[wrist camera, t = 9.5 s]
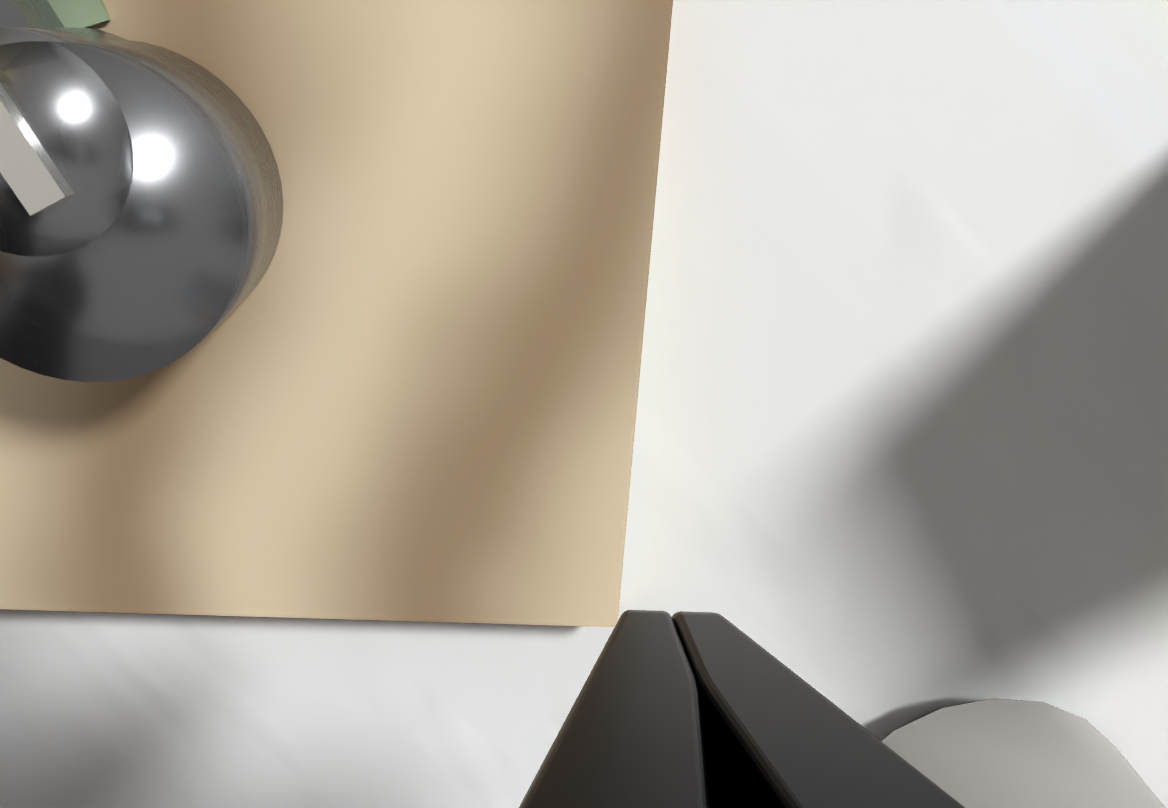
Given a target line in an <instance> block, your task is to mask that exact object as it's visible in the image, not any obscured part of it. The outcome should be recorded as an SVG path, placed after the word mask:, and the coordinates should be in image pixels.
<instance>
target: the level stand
mask: <svg viewBox="0 0 1168 808" xmlns="http://www.w3.org/2000/svg"><path fill="white" fill-rule="evenodd" d="M47 1H48V2H49V4H50V5H51V7H52V8H53V10H54V12H55V13H56V15H57V16H58V18H59V20H60V21H61V23H62V24H63V26H64V27H65V28H91V29H98V30H101V31H105V32H109V33H112V34H114V35H117V36H119V37H122V38H124V39H126V40H132V41H139V42H145V43H149V44H152V45H156V46H160V47H164V48H166V49H168V50H171V51H173V52H176V53H178V54H181V55H183V56H185V57H187V58H189V59H190V60H192V61H194V62H196V63H198V64H199V65H201V66H203V67H204V68H206V69H207V70H208V71H210V72H211V73H212V74H214V75H215V76H217V77H218V78H219V79H220V80H222V81H223V82H224V83H225V84H226V85H227V86H228V87H229V88H230V89H231V90H232V91H233V92H235V93H236V95H237V96H238V97H239V98H240V99H241V100H242V102H243V103H244V104H245V105H246V106H247V107H248V109H249V110H250V111H251V113H252V114H253V116H254V117H255V119H256V120H257V122H258V123H259V125H260V126H261V128H262V130H263V132H264V134H265V136H266V138H267V140H268V142H269V144H270V146H271V149H272V151H273V154H274V157H275V160H276V162H277V166H278V170H279V174H280V179H281V183H282V193H283V222H282V228H281V234H280V239H279V243H278V246H277V249H276V252H275V255H274V257H273V259H272V262H271V264H270V266H269V268H268V270H267V272H266V273H265V275H264V276H263V278H262V279H261V281H260V282H259V284H258V285H257V287H256V288H255V289H254V290H253V291H252V292H251V293H250V294H249V295H248V296H247V297H246V299H245V300H244V301H242V302H241V303H240V304H239V305H238V306H237V307H236V308H235V309H234V310H233V311H232V312H231V313H230V314H229V315H228V316H227V317H226V318H225V319H224V320H223V321H222V322H221V323H220V324H219V325H217V326H216V327H215V328H214V329H213V330H212V331H211V332H210V333H209V334H208V335H207V336H206V337H205V338H204V339H203V340H202V341H201V342H200V343H199V344H197V345H196V346H195V347H194V348H192V349H191V350H190V351H189V352H187V353H186V354H185V355H184V356H182V357H180V358H179V359H177V360H175V361H174V362H172V363H170V364H169V365H167V366H165V367H162V368H160V369H158V370H155V371H153V372H151V373H148V374H145V375H141V376H137V377H134V378H130V379H125V380H117V381H110V382H79V381H70V380H62V379H58V378H53V377H49V376H44V375H41V374H38V373H35V372H32V371H29V370H26V369H23V368H20V367H18V366H16V365H14V364H12V363H10V362H8V361H6V360H3V359H1V358H0V609H11V610H46V611H80V612H114V613H149V614H183V615H217V616H252V617H286V618H320V619H354V620H389V621H423V622H457V623H492V624H526V625H560V626H595V627H615V626H616V624H617V622H618V612H619V600H620V589H621V578H622V567H623V555H624V544H625V533H626V522H627V510H628V499H629V488H630V477H631V466H632V454H633V443H634V432H635V421H636V409H637V398H638V387H639V376H640V364H641V353H642V342H643V331H644V320H645V308H646V297H647V286H648V275H649V263H650V252H651V241H652V230H653V218H654V207H655V196H656V185H657V174H658V162H659V151H660V140H661V129H662V117H663V106H664V95H665V84H666V72H667V61H668V50H669V39H670V28H671V16H672V5H673V0H47Z"/></svg>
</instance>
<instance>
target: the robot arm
mask: <svg viewBox="0 0 1168 808" xmlns="http://www.w3.org/2000/svg"><path fill="white" fill-rule="evenodd" d="M519 808H965V807H964V806H963V805H961V804H960V803H959V802H958V801H956V800H955V799H954V798H952V797H951V796H950V795H949V794H947V793H946V792H945V791H944V790H942V789H941V788H940V787H939V786H937V785H936V784H935V783H933V782H932V781H931V780H930V779H928V778H927V777H926V776H925V775H923V774H922V773H921V772H919V771H918V770H917V769H916V768H914V767H913V766H912V765H911V764H909V763H908V762H907V761H906V760H904V759H903V758H902V757H900V756H899V755H898V754H897V753H895V752H894V751H893V750H892V749H890V748H889V747H888V746H887V745H885V744H884V743H883V742H881V741H880V740H879V739H878V738H876V737H875V736H874V735H873V734H871V733H870V732H869V731H867V730H866V729H865V728H864V727H862V726H861V725H860V724H859V723H857V722H856V721H855V720H854V719H852V718H851V717H850V716H848V715H847V714H846V713H845V712H843V711H842V710H841V709H840V708H838V707H837V706H836V705H834V704H833V703H832V702H831V701H829V700H828V699H827V698H826V697H824V696H823V695H822V694H821V693H819V692H818V691H817V690H815V689H814V688H813V687H812V686H810V685H809V684H808V683H807V682H805V681H804V680H803V679H802V678H800V677H799V676H798V675H796V674H795V673H794V672H793V671H791V670H790V669H789V668H788V667H786V666H785V665H784V664H782V663H781V662H780V661H779V660H777V659H776V658H775V657H774V656H772V655H771V654H770V653H769V652H767V651H766V650H765V649H763V648H762V647H761V646H760V645H758V644H757V643H756V642H755V641H753V640H752V639H751V638H749V637H748V636H747V635H746V634H744V633H743V632H742V631H741V630H739V629H738V628H737V627H736V626H734V625H733V624H732V623H730V622H729V621H728V620H727V619H725V618H724V617H723V616H721V615H720V614H717V613H711V612H677V613H675V614H674V615H673V616H672V617H671V616H670V614H669V613H667V612H665V611H646V610H627V611H625V612H624V613H623V614H622V615H621V617H620V618H619V620H618V622H617V624H616V626H615V628H614V630H613V632H612V634H611V635H610V637H609V639H608V641H607V643H606V645H605V647H604V649H603V650H602V652H601V654H600V656H599V658H598V660H597V662H596V664H595V665H594V667H593V669H592V671H591V673H590V675H589V677H588V679H587V681H586V682H585V684H584V686H583V688H582V690H581V692H580V694H579V696H578V697H577V699H576V701H575V703H574V705H573V707H572V709H571V711H570V713H569V714H568V716H567V718H566V720H565V722H564V724H563V726H562V728H561V729H560V731H559V733H558V735H557V737H556V739H555V741H554V743H553V744H552V746H551V748H550V750H549V752H548V754H547V756H546V758H545V760H544V761H543V763H542V765H541V767H540V769H539V771H538V773H537V775H536V776H535V778H534V780H533V782H532V784H531V786H530V788H529V790H528V791H527V793H526V795H525V797H524V799H523V801H522V803H521V805H520V807H519Z"/></svg>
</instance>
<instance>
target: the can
mask: <svg viewBox="0 0 1168 808" xmlns="http://www.w3.org/2000/svg"><path fill="white" fill-rule="evenodd" d="M881 742H883V743H884V744H885V745H887V746H888V747H889V748H890V749H892V750H893V751H894V752H895V753H897V754H898V755H899V756H900V757H902V758H903V759H904V760H906V761H907V762H908V763H909V764H911V765H912V766H913V767H914V768H916V769H917V770H918V771H919V772H921V773H922V774H923V775H925V776H926V777H927V778H928V779H930V780H931V781H932V782H933V783H935V784H936V785H937V786H939V787H940V788H941V789H942V790H944V791H945V792H946V793H947V794H949V795H950V796H951V797H952V798H954V799H955V800H956V801H958V802H959V803H960V804H961V805H963V806H964V807H965V808H1165V806H1164V805H1163V804H1162V803H1161V801H1160V800H1159V799H1158V798H1157V797H1156V795H1155V794H1154V793H1153V792H1152V790H1151V789H1150V788H1149V787H1148V786H1147V784H1146V783H1145V782H1144V781H1143V779H1142V778H1141V777H1140V776H1139V775H1138V773H1137V772H1136V771H1135V770H1134V768H1133V767H1132V766H1131V765H1130V764H1129V762H1128V761H1127V760H1126V759H1125V757H1124V756H1123V755H1122V754H1121V753H1120V751H1119V750H1118V749H1117V748H1116V747H1115V746H1114V745H1113V744H1112V743H1111V742H1110V741H1109V740H1108V739H1107V738H1106V737H1105V736H1103V735H1102V734H1101V733H1100V732H1099V731H1098V730H1097V729H1096V728H1095V727H1094V726H1093V725H1091V724H1090V723H1089V722H1088V721H1087V720H1086V719H1084V718H1082V717H1079V716H1077V715H1074V714H1072V713H1069V712H1067V711H1064V710H1062V709H1059V708H1057V707H1054V706H1052V705H1049V704H1047V703H1044V702H1035V701H1022V700H1009V699H996V698H993V699H987V700H982V701H977V702H972V703H966V704H961V705H956V706H951V707H945V708H941V709H939V710H937V711H934V712H932V713H930V714H928V715H926V716H924V717H922V718H919V719H917V720H915V721H913V722H911V723H909V724H907V725H905V726H902V727H900V728H898V729H896V730H894V731H893V732H892V733H891V734H889V735H888V736H887V737H886V738H885V739H883V740H882V741H881Z"/></svg>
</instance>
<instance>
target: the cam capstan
mask: <svg viewBox="0 0 1168 808" xmlns="http://www.w3.org/2000/svg"><path fill="white" fill-rule="evenodd" d="M282 222H283V193H282V183H281V179H280V174H279V170H278V166H277V162H276V160H275V157H274V154H273V151H272V149H271V146H270V144H269V142H268V140H267V138H266V136H265V134H264V132H263V130H262V128H261V126H260V125H259V123H258V122H257V120H256V119H255V117H254V116H253V114H252V113H251V111H250V110H249V109H248V107H247V106H246V105H245V104H244V103H243V102H242V100H241V99H240V98H239V97H238V96H237V95H236V93H235V92H233V91H232V90H231V89H230V88H229V87H228V86H227V85H226V84H225V83H224V82H223V81H222V80H220V79H219V78H218V77H217V76H215V75H214V74H212V73H211V72H210V71H208V70H207V69H206V68H204V67H203V66H201V65H199V64H198V63H196V62H194V61H192V60H190V59H189V58H187V57H185V56H183V55H181V54H178V53H176V52H173V51H171V50H168V49H166V48H164V47H160V46H156V45H152V44H149V43H145V42H139V41H132V40H126V39H124V38H122V37H119V36H117V35H114V34H112V33H109V32H105V31H101V30H98V29H91V28H65V27H64V26H63V24H62V23H61V21H60V20H59V18H58V16H57V15H56V13H55V12H54V10H53V8H52V7H51V5H50V4H49V2H48V1H47V0H0V358H1V359H3V360H6V361H8V362H10V363H12V364H14V365H16V366H18V367H20V368H23V369H26V370H29V371H32V372H35V373H38V374H41V375H44V376H49V377H53V378H58V379H62V380H70V381H79V382H110V381H117V380H125V379H130V378H134V377H137V376H141V375H145V374H148V373H151V372H153V371H155V370H158V369H160V368H162V367H165V366H167V365H169V364H170V363H172V362H174V361H175V360H177V359H179V358H180V357H182V356H184V355H185V354H186V353H187V352H189V351H190V350H191V349H192V348H194V347H195V346H196V345H197V344H199V343H200V342H201V341H202V340H203V339H204V338H205V337H206V336H207V335H208V334H209V333H210V332H211V331H212V330H213V329H214V328H215V327H216V326H217V325H219V324H220V323H221V322H222V321H223V320H224V319H225V318H226V317H227V316H228V315H229V314H230V313H231V312H232V311H233V310H234V309H235V308H236V307H237V306H238V305H239V304H240V303H241V302H242V301H244V300H245V299H246V297H247V296H248V295H249V294H250V293H251V292H252V291H253V290H254V289H255V288H256V287H257V285H258V284H259V282H260V281H261V279H262V278H263V276H264V275H265V273H266V272H267V270H268V268H269V266H270V264H271V262H272V259H273V257H274V255H275V252H276V249H277V246H278V243H279V239H280V234H281V228H282Z"/></svg>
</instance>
